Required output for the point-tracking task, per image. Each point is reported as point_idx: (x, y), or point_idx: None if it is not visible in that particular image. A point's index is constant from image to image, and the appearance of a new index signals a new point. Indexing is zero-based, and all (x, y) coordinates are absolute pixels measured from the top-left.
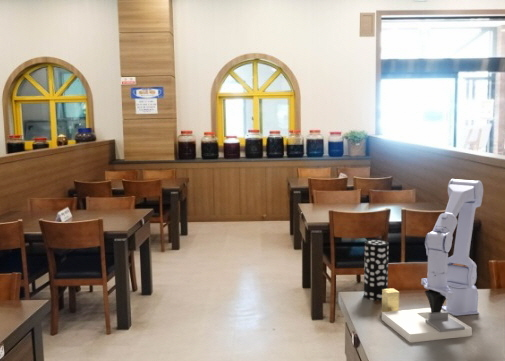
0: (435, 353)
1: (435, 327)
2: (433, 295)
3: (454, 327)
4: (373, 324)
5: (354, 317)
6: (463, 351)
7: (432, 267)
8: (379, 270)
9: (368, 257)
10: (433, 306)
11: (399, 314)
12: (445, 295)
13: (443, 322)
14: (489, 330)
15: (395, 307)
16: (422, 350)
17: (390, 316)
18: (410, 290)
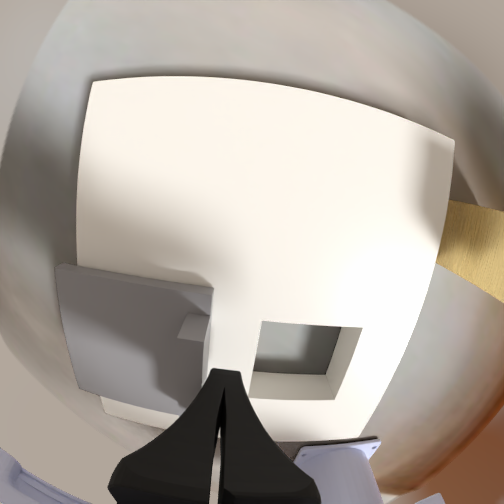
0: (16, 154)
1: (98, 273)
2: (115, 478)
3: (74, 351)
4: (391, 64)
5: (468, 66)
6: (12, 268)
7: None
8: None
9: None
10: (191, 405)
11: (397, 213)
12: (39, 487)
13: (138, 355)
14: None
15: (465, 255)
16: (44, 114)
17: (392, 134)
18: (493, 402)
